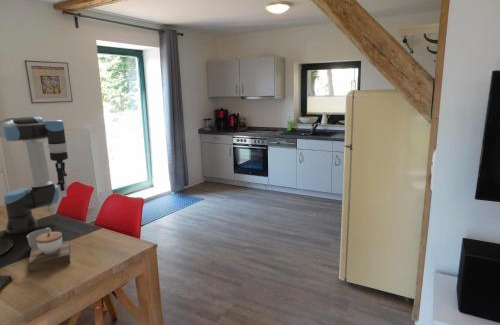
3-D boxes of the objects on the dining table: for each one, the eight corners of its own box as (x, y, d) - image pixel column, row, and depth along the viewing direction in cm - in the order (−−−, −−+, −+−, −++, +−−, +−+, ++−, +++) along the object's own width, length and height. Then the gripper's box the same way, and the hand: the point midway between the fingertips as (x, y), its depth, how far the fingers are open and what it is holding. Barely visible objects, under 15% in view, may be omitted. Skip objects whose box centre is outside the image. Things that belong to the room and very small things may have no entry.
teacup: (41, 252, 161) (39, 238, 159) (23, 250, 163) (20, 236, 162) (62, 240, 174) (60, 226, 173) (45, 238, 177) (43, 225, 175)
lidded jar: (69, 248, 156) (66, 230, 155) (47, 258, 147) (44, 239, 145) (54, 244, 161) (51, 226, 159) (32, 253, 151) (29, 235, 149)
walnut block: (33, 257, 158) (31, 248, 157) (70, 249, 165) (68, 240, 164) (30, 273, 144) (28, 263, 143) (70, 264, 152) (69, 254, 151)
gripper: (51, 147, 166) (56, 186, 171) (47, 157, 145) (54, 201, 150) (67, 146, 170) (72, 184, 175) (66, 155, 148) (72, 199, 153)
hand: (64, 192), depth 162 cm, fingers open, 13 cm apart
